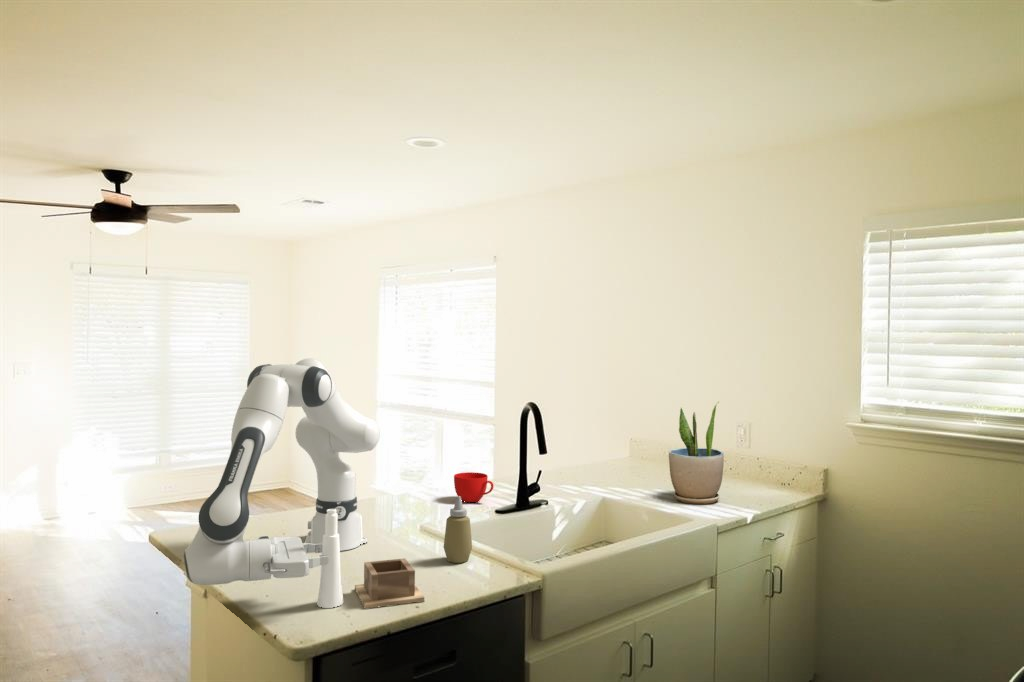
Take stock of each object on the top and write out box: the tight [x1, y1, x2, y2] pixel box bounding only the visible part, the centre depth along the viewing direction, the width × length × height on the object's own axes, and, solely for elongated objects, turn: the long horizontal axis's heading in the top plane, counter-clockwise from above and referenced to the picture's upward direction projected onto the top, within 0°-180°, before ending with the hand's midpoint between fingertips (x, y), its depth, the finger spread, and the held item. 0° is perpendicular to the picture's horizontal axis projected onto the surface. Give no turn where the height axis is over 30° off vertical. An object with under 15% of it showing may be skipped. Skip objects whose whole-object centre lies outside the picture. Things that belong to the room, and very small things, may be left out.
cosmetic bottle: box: [316, 509, 345, 609], centre depth 168 cm, size 6×6×22 cm
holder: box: [354, 558, 425, 609], centre depth 174 cm, size 14×14×7 cm
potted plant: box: [668, 401, 725, 505], centre depth 285 cm, size 21×22×40 cm
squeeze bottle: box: [443, 495, 473, 564], centre depth 203 cm, size 8×8×18 cm
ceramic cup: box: [453, 471, 494, 503], centre depth 276 cm, size 13×17×10 cm
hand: (325, 553), depth 168 cm, fingers open, 8 cm apart
